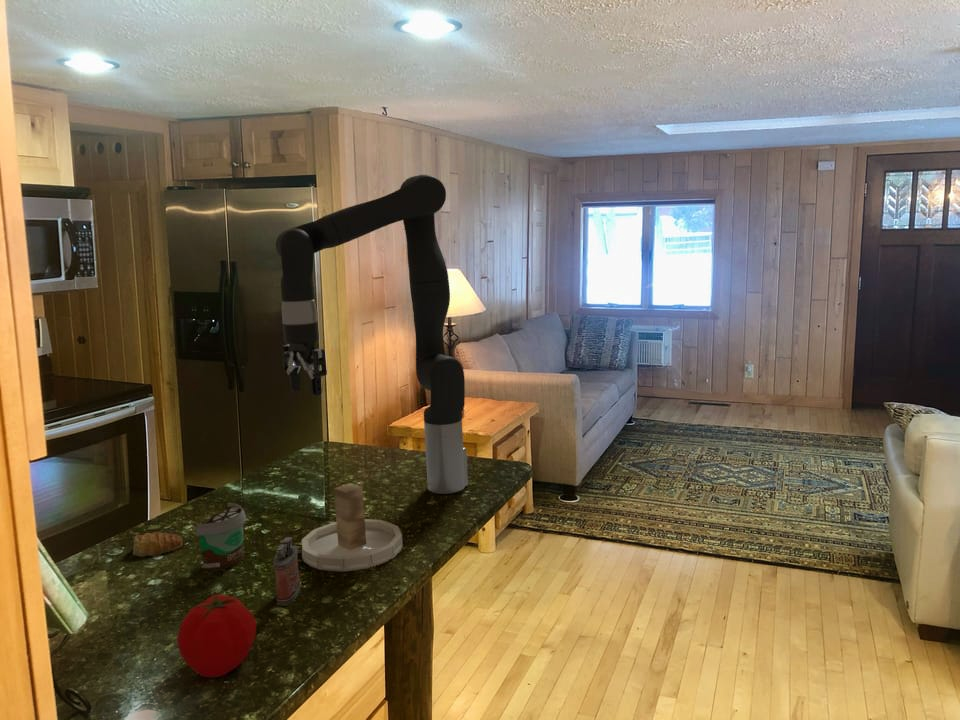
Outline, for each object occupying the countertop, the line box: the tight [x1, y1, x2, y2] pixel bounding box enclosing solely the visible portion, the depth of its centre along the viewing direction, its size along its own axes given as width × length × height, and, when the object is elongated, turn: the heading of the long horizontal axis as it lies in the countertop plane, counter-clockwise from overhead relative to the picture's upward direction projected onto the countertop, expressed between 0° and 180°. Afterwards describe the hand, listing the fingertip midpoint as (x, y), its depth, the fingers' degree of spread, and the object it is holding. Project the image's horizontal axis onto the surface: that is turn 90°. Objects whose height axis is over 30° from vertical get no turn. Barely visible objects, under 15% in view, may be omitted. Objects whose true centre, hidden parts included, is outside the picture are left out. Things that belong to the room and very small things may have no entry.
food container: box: [195, 502, 247, 572], centre depth 150 cm, size 12×6×10 cm, turn 168°
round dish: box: [301, 518, 404, 573], centre depth 154 cm, size 20×20×2 cm
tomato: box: [176, 593, 257, 678], centre depth 114 cm, size 11×13×10 cm
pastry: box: [132, 531, 183, 558], centre depth 158 cm, size 9×7×4 cm
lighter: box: [272, 536, 301, 606], centre depth 135 cm, size 8×3×10 cm, turn 178°
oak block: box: [333, 482, 366, 550], centre depth 153 cm, size 4×4×12 cm
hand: (305, 392), depth 171 cm, fingers open, 8 cm apart
